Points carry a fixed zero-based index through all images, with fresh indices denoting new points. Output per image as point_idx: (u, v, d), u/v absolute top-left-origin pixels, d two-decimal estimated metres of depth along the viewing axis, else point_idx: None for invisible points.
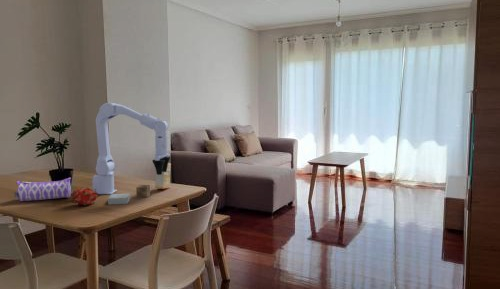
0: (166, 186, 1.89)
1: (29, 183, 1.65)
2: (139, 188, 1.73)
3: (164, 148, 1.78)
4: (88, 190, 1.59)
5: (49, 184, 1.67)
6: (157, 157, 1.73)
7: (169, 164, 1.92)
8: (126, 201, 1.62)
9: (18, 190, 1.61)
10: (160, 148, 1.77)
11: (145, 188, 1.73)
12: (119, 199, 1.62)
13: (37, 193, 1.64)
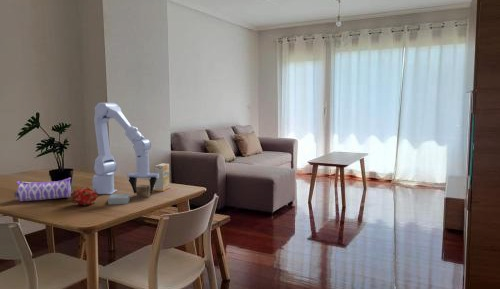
0: (166, 187, 1.89)
1: (29, 183, 1.65)
2: (139, 188, 1.73)
3: (137, 168, 1.72)
4: (88, 190, 1.59)
5: (49, 184, 1.66)
6: None
7: (168, 165, 1.90)
8: (126, 201, 1.62)
9: (18, 190, 1.61)
10: (136, 167, 1.74)
11: (145, 188, 1.73)
12: (119, 199, 1.62)
13: (37, 193, 1.64)
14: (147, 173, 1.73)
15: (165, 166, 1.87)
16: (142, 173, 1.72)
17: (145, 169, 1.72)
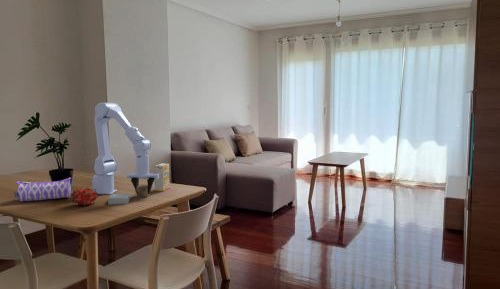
0: (166, 187, 1.89)
1: (29, 183, 1.65)
2: (139, 188, 1.73)
3: (137, 168, 1.72)
4: (88, 190, 1.59)
5: (49, 184, 1.66)
6: None
7: (168, 165, 1.90)
8: (126, 201, 1.62)
9: (18, 190, 1.61)
10: (136, 167, 1.74)
11: (145, 188, 1.73)
12: (119, 199, 1.62)
13: (37, 193, 1.64)
14: (147, 173, 1.73)
15: (165, 166, 1.87)
16: (142, 173, 1.72)
17: (145, 169, 1.72)
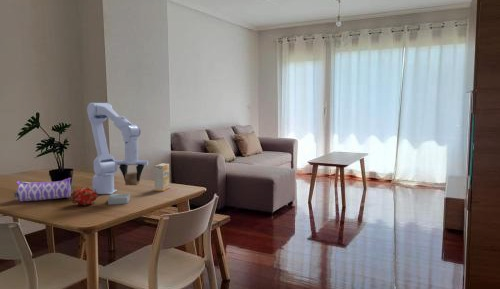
0: (166, 187, 1.89)
1: (29, 183, 1.64)
2: (128, 175, 1.67)
3: (126, 154, 1.67)
4: (88, 190, 1.59)
5: (49, 184, 1.66)
6: None
7: (168, 165, 1.90)
8: (126, 201, 1.62)
9: (18, 190, 1.61)
10: None
11: (134, 175, 1.67)
12: (119, 199, 1.62)
13: (37, 193, 1.63)
14: (136, 160, 1.68)
15: (165, 166, 1.87)
16: (131, 160, 1.66)
17: (133, 155, 1.67)
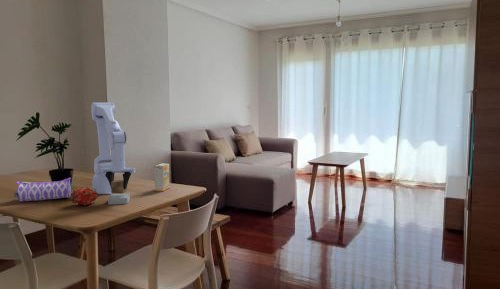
0: (166, 187, 1.89)
1: (29, 183, 1.64)
2: (114, 183, 1.62)
3: (112, 161, 1.61)
4: (88, 190, 1.59)
5: (49, 184, 1.66)
6: None
7: (168, 165, 1.90)
8: (126, 201, 1.62)
9: (18, 190, 1.61)
10: None
11: (120, 183, 1.62)
12: (119, 199, 1.62)
13: (37, 193, 1.63)
14: (123, 167, 1.63)
15: (165, 166, 1.87)
16: (117, 167, 1.61)
17: (120, 163, 1.61)
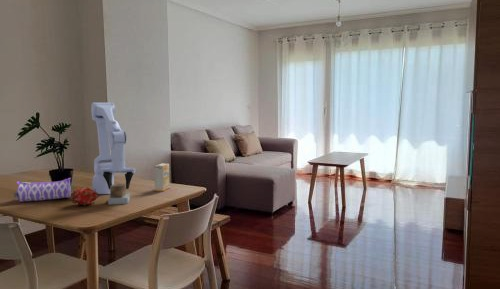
0: (166, 187, 1.89)
1: (29, 183, 1.64)
2: (113, 187, 1.62)
3: (112, 161, 1.61)
4: (88, 190, 1.59)
5: (49, 184, 1.66)
6: None
7: (167, 165, 1.90)
8: (126, 201, 1.62)
9: (18, 190, 1.61)
10: None
11: (119, 187, 1.62)
12: (119, 199, 1.62)
13: (37, 193, 1.63)
14: (123, 167, 1.63)
15: (165, 166, 1.87)
16: (117, 167, 1.61)
17: (120, 163, 1.61)
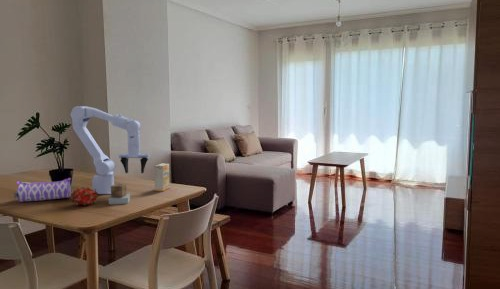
0: (166, 187, 1.89)
1: (29, 183, 1.64)
2: (114, 187, 1.62)
3: (128, 148, 1.78)
4: (88, 190, 1.59)
5: (49, 184, 1.66)
6: None
7: (168, 165, 1.90)
8: (126, 201, 1.62)
9: (18, 191, 1.60)
10: (128, 147, 1.79)
11: (120, 187, 1.62)
12: (119, 199, 1.61)
13: (37, 193, 1.63)
14: (138, 153, 1.79)
15: (165, 166, 1.87)
16: (133, 153, 1.78)
17: (136, 149, 1.78)
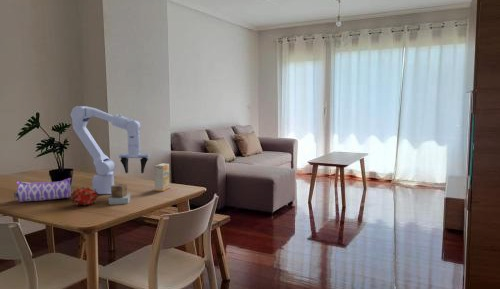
0: (166, 187, 1.89)
1: (29, 184, 1.64)
2: (114, 187, 1.62)
3: (128, 148, 1.78)
4: (88, 190, 1.59)
5: (49, 184, 1.66)
6: None
7: (168, 165, 1.90)
8: (127, 201, 1.62)
9: (18, 191, 1.60)
10: (128, 147, 1.79)
11: (120, 187, 1.62)
12: (120, 199, 1.61)
13: (37, 193, 1.63)
14: (138, 153, 1.79)
15: (165, 166, 1.87)
16: (133, 153, 1.78)
17: (136, 149, 1.78)
